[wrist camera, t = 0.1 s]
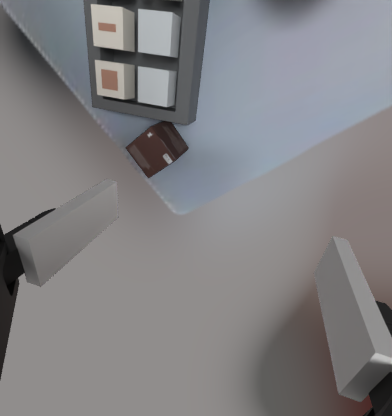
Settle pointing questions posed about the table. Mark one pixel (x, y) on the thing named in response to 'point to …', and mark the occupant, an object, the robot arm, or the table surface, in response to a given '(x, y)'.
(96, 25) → the key
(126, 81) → the key
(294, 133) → the table surface
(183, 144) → the box
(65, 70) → the table surface
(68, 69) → the table surface
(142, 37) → the key
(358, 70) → the table surface
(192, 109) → the keypad
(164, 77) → the key
